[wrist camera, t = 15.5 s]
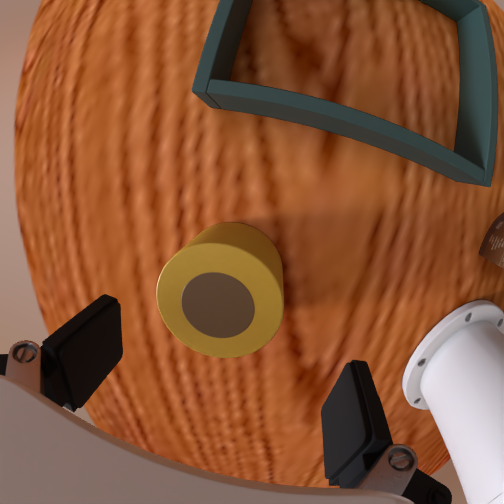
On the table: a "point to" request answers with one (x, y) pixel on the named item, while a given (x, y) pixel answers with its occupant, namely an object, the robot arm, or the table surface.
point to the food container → (494, 243)
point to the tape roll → (223, 291)
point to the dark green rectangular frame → (360, 123)
